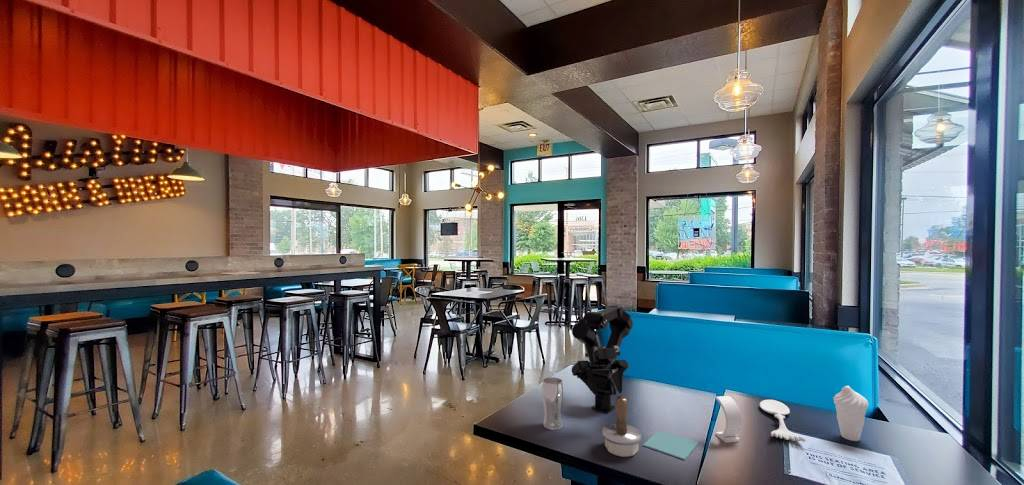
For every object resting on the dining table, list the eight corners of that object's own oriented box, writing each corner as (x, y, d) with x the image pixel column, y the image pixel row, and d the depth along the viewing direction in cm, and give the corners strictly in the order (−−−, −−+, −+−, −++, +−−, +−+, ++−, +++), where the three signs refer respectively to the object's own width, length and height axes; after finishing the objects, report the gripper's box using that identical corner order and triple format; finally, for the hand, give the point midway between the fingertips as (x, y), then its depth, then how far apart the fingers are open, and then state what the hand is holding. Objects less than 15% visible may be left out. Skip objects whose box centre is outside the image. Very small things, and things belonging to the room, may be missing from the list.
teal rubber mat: (659, 431, 130) (659, 430, 130) (698, 443, 122) (698, 442, 122) (643, 445, 121) (643, 444, 121) (684, 460, 113) (684, 458, 113)
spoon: (770, 444, 122) (770, 432, 122) (757, 404, 151) (757, 395, 151) (806, 450, 118) (806, 438, 118) (786, 408, 147) (786, 399, 147)
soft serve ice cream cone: (860, 433, 128) (860, 382, 128) (874, 446, 120) (874, 392, 120) (828, 429, 130) (828, 380, 130) (839, 442, 123) (840, 389, 122)
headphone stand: (729, 433, 128) (729, 395, 128) (742, 443, 122) (742, 403, 122) (715, 434, 128) (715, 396, 128) (727, 444, 122) (727, 404, 122)
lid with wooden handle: (613, 423, 127) (613, 388, 127) (647, 434, 120) (647, 397, 120) (595, 436, 119) (595, 399, 119) (630, 449, 112) (630, 409, 111)
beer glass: (562, 431, 130) (562, 385, 130) (540, 429, 132) (540, 383, 132) (564, 421, 137) (563, 377, 137) (543, 420, 139) (543, 376, 138)
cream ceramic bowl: (614, 438, 126) (614, 425, 125) (642, 448, 120) (642, 434, 120) (600, 450, 119) (600, 436, 119) (628, 460, 113) (628, 446, 113)
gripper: (580, 336, 129) (594, 384, 119) (629, 336, 135) (646, 382, 125) (565, 351, 136) (578, 398, 127) (612, 351, 143) (628, 395, 133)
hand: (608, 393), depth 128 cm, fingers open, 9 cm apart
